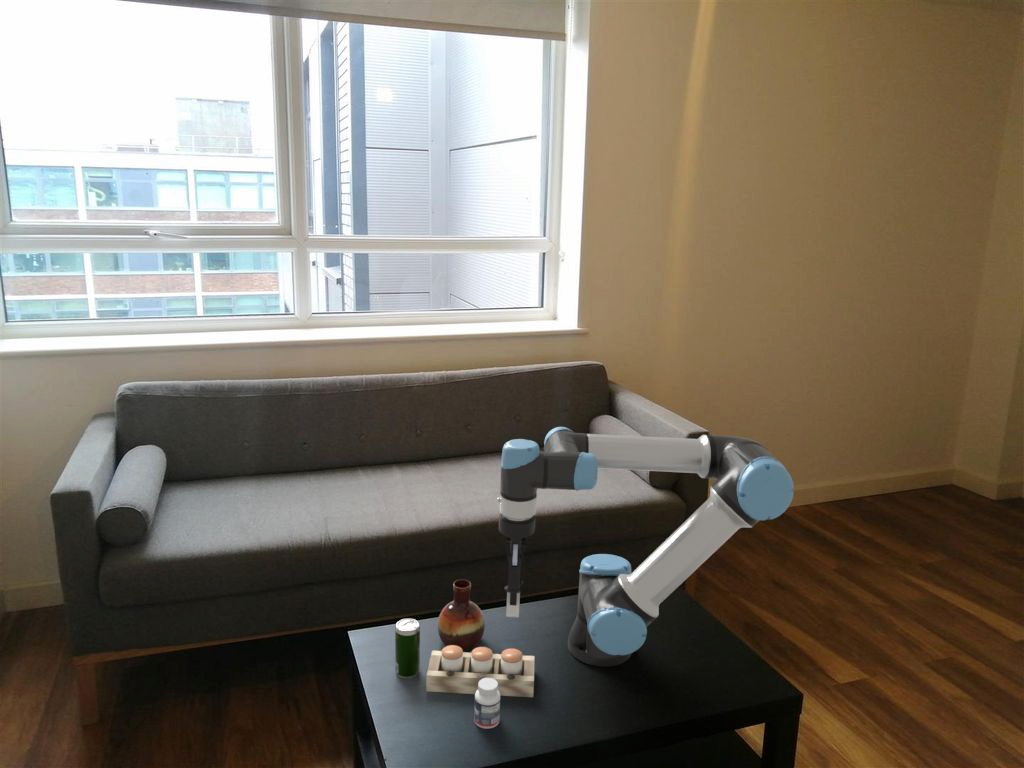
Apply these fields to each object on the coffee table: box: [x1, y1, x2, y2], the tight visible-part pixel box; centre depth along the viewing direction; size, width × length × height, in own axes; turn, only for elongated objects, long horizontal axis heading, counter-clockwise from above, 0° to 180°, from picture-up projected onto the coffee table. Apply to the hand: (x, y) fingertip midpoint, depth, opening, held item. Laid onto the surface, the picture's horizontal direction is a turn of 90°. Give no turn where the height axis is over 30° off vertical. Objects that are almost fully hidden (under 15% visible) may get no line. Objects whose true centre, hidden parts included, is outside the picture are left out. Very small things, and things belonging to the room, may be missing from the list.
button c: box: [441, 645, 464, 672], centre depth 174 cm, size 5×5×4 cm
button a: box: [500, 648, 523, 676], centre depth 174 cm, size 5×5×4 cm
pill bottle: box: [473, 678, 501, 730], centre depth 162 cm, size 5×5×9 cm
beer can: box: [394, 618, 421, 680], centre depth 176 cm, size 5×5×12 cm
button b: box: [471, 646, 494, 674], centre depth 174 cm, size 5×5×4 cm
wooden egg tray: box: [425, 650, 535, 698], centre depth 175 cm, size 23×9×4 cm, turn 88°
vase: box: [437, 578, 486, 652], centre depth 188 cm, size 11×11×15 cm
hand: (512, 615), depth 171 cm, fingers closed
